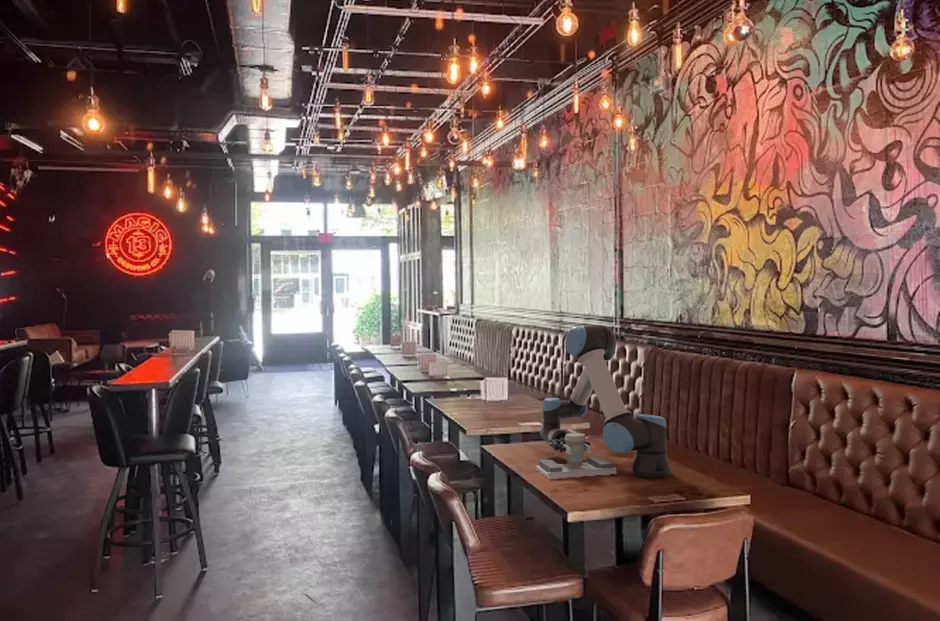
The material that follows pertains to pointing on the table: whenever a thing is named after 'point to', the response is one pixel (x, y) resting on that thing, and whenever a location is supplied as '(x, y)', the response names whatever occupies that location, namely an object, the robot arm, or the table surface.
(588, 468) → the rail plate
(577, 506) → the table surface
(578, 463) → the coffee cup
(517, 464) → the table surface
